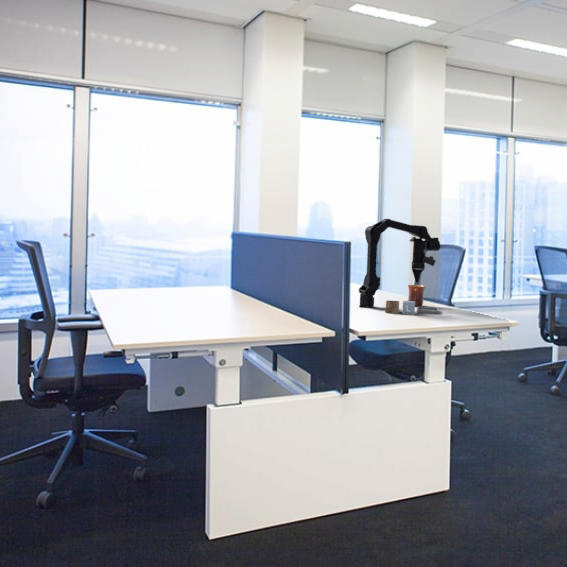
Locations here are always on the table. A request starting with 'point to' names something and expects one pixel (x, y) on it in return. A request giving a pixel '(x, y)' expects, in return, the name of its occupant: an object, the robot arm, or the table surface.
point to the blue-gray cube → (408, 307)
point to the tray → (427, 310)
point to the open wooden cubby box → (392, 306)
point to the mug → (416, 294)
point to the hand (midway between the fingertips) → (417, 281)
